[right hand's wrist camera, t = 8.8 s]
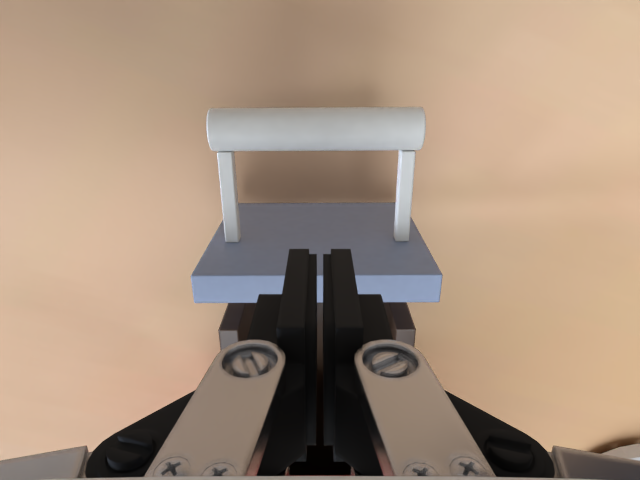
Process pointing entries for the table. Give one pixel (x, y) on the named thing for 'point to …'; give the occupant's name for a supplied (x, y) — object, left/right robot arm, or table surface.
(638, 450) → the mechanical component
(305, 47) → the table surface
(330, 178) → the table surface
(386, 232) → the drawer
